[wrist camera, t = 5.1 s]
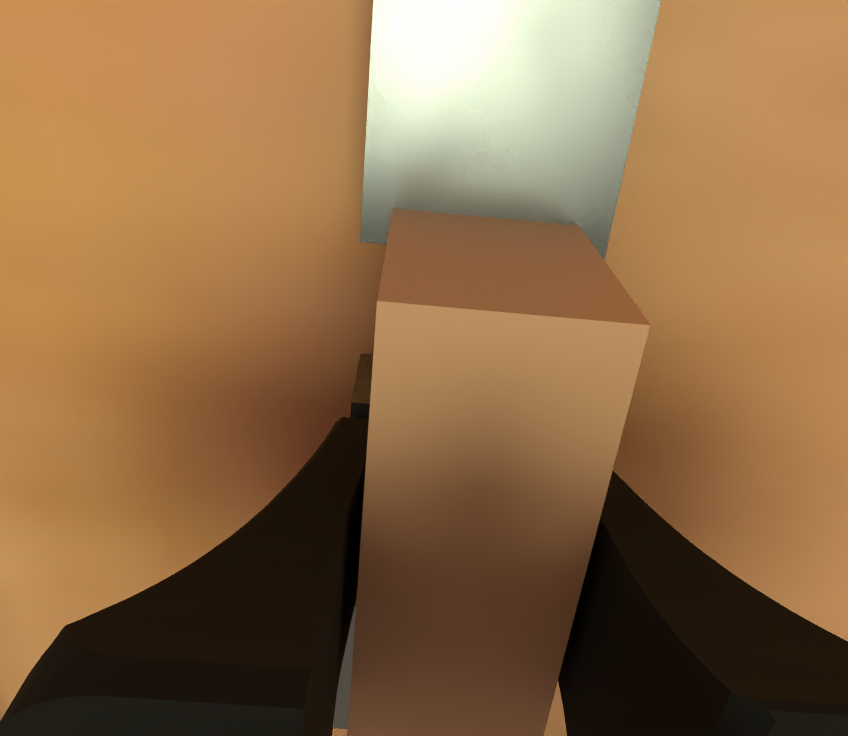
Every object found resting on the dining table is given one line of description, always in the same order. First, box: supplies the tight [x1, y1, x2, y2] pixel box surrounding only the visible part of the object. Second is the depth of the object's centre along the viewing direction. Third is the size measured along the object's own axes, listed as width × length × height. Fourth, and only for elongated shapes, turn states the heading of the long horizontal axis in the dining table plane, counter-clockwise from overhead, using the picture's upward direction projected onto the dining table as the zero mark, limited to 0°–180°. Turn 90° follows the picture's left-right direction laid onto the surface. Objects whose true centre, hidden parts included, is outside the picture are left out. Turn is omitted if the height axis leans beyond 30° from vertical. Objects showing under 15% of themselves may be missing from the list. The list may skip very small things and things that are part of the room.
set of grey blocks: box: [334, 0, 661, 729], centre depth 14 cm, size 16×4×2 cm, turn 175°
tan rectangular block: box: [347, 208, 650, 736], centre depth 12 cm, size 8×3×6 cm, turn 175°
